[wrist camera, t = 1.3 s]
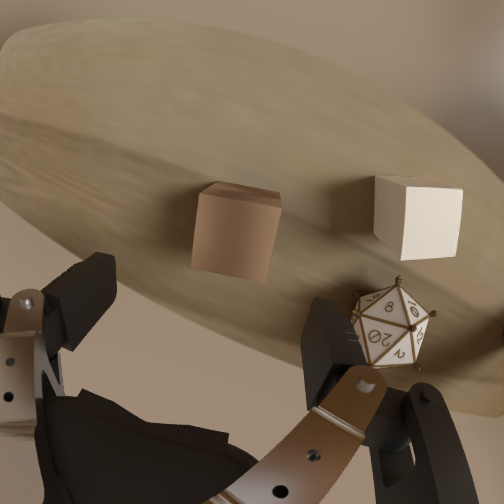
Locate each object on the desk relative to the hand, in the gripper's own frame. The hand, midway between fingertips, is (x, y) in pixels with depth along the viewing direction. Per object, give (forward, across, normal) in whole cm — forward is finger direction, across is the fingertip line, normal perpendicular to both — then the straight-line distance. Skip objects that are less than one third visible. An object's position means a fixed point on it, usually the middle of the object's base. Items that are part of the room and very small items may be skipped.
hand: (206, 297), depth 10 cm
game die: (+13, -14, +6) cm, 20 cm away
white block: (+13, -13, -4) cm, 19 cm away
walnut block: (+13, 0, 0) cm, 13 cm away
